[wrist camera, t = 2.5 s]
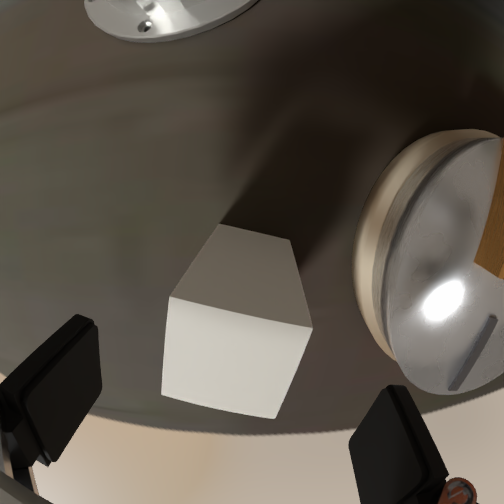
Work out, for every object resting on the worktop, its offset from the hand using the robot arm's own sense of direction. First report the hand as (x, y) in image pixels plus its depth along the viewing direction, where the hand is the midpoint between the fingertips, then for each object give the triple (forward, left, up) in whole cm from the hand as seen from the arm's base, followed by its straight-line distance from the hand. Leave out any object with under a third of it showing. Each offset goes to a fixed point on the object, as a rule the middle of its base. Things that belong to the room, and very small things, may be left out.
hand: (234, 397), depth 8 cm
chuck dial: (-5, +13, -7) cm, 16 cm away
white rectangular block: (-1, 0, -9) cm, 9 cm away
